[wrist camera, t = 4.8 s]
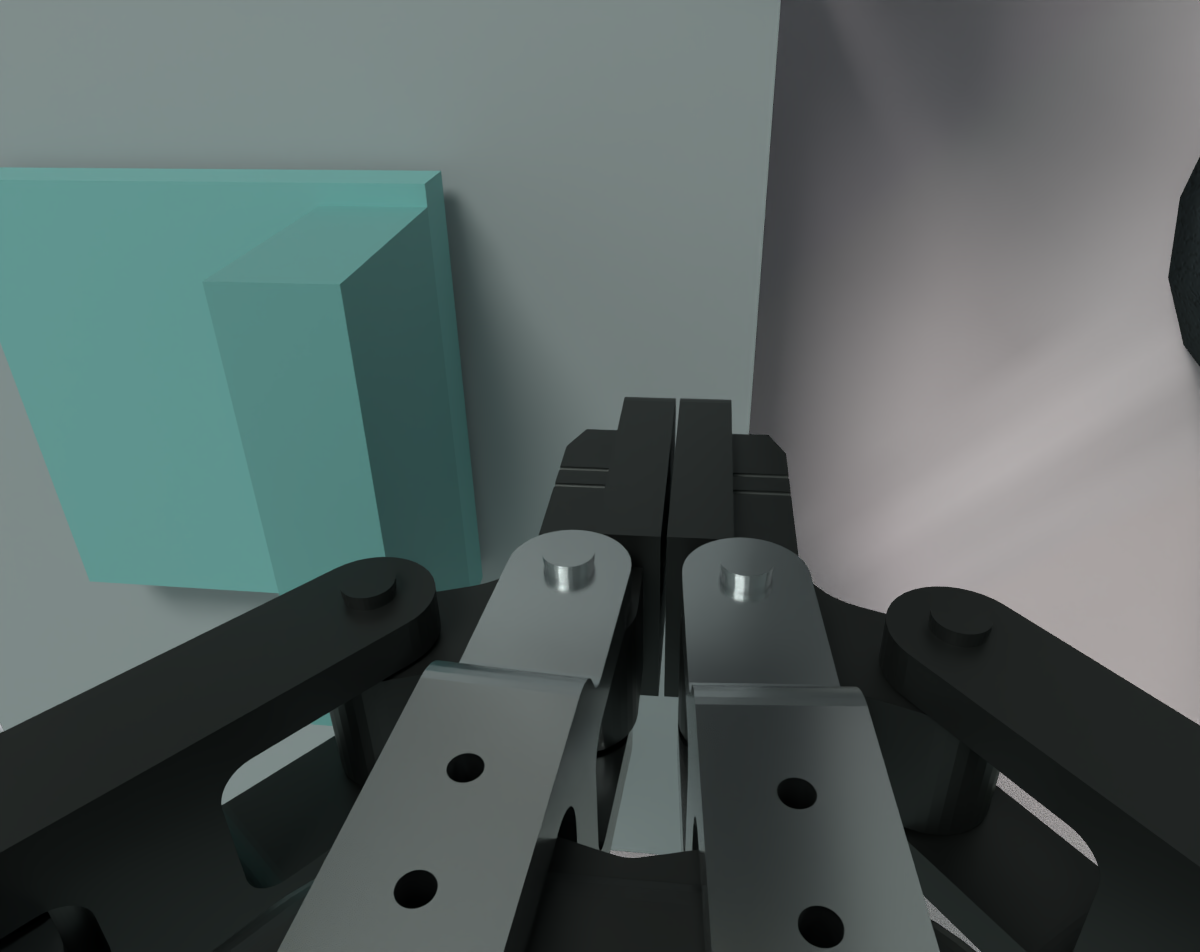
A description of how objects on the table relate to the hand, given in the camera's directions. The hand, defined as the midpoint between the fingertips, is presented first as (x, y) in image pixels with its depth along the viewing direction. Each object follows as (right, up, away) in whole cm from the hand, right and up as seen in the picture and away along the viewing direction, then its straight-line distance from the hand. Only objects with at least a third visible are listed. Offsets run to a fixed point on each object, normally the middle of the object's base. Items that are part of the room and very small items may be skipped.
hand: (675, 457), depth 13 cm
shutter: (-7, +1, +2) cm, 7 cm away
